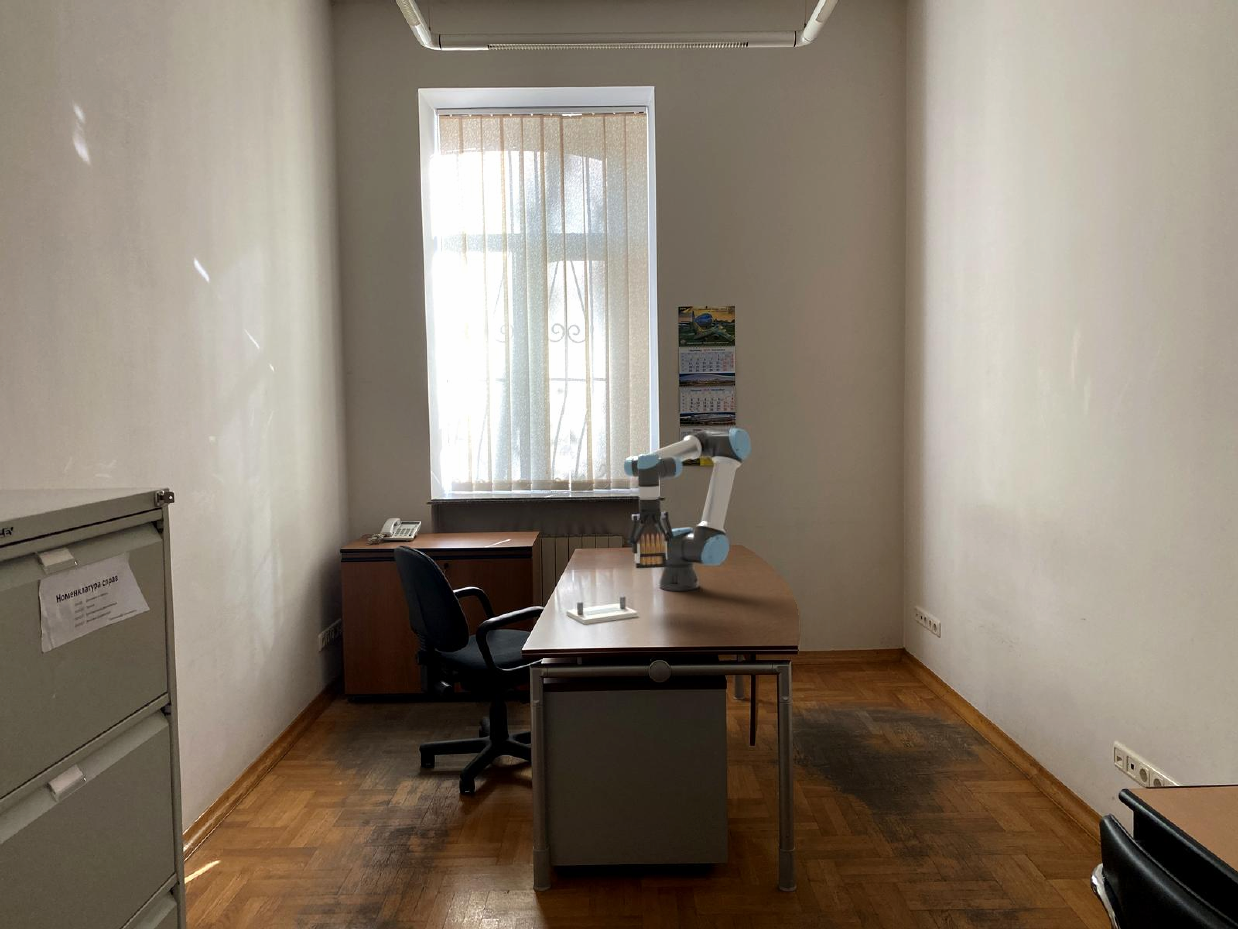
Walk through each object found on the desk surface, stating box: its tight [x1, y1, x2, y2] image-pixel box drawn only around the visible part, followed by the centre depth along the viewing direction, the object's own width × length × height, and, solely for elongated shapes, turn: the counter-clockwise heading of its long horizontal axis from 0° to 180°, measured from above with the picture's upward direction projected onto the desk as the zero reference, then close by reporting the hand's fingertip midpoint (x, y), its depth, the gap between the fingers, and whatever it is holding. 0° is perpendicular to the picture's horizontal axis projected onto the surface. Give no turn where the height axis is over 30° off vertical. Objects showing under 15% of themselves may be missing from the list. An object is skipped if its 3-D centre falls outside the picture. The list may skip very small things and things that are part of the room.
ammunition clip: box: [635, 533, 667, 569], centre depth 302 cm, size 11×2×12 cm, turn 94°
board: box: [565, 595, 639, 625], centre depth 293 cm, size 20×15×6 cm
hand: (651, 560), depth 302 cm, fingers closed on ammunition clip, 10 cm apart
